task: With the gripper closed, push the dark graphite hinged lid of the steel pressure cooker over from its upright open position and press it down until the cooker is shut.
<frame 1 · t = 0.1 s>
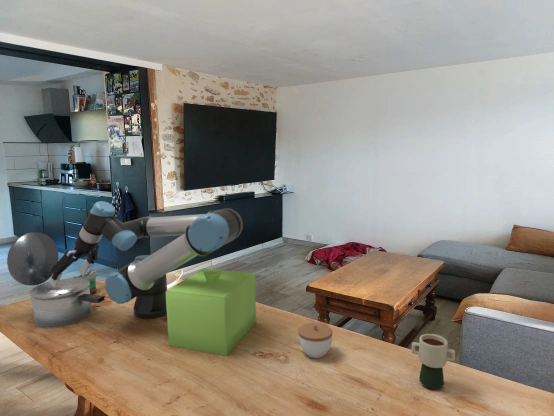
hand: (67, 279, 151), 15 cm above the table, tool tilted 35°, fingers open, 13 cm apart
canister: (215, 334, 137), on the table
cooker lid: (32, 258, 154), point 23 cm above the table, hinge at 95.0°
character mug: (431, 384, 106), on the table
cooker pot: (63, 315, 154), on the table
lidded jar: (315, 353, 123), on the table
food container: (90, 294, 177), on the table
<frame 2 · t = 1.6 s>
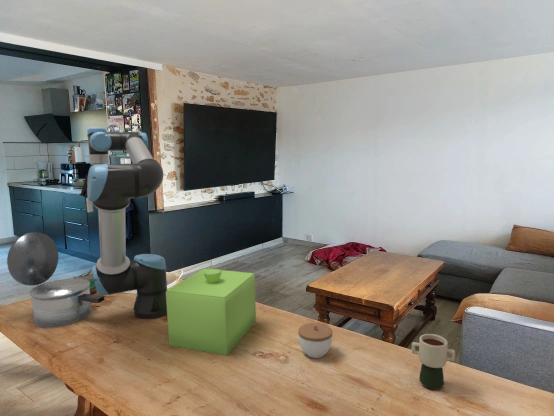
hand: (103, 212, 170), 38 cm above the table, tool pointing down, fingers open, 13 cm apart
nothing on the table moved.
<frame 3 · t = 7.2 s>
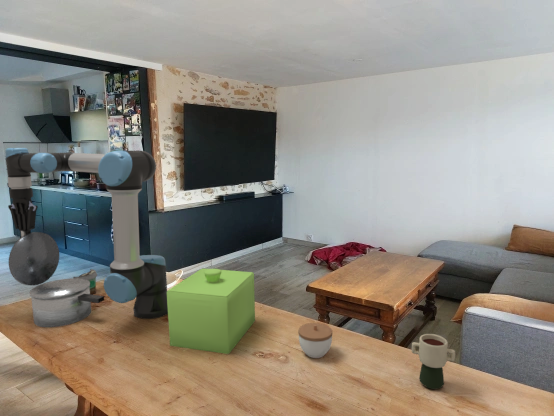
hand: (27, 246, 154), 27 cm above the table, tool pointing down, fingers closed
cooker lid: (33, 258, 154), point 23 cm above the table, hinge at 91.4°, touching gripper
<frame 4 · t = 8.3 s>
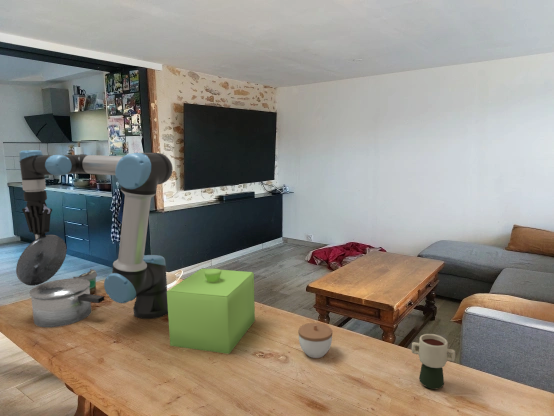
hand: (41, 250, 152), 26 cm above the table, tool pointing down, fingers closed
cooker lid: (41, 259, 153), point 23 cm above the table, hinge at 70.8°, touching gripper
everything else where it was.
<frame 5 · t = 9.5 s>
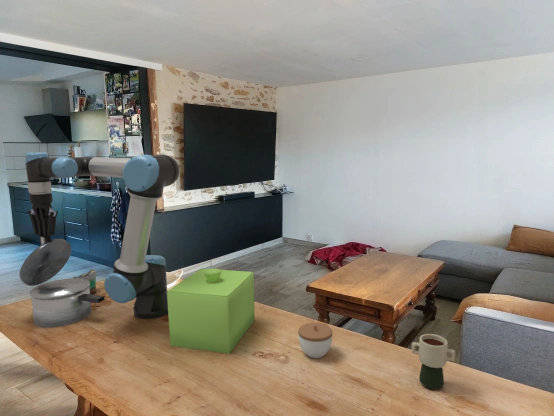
hand: (46, 252, 151), 26 cm above the table, tool pointing down, fingers closed
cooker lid: (44, 260, 152), point 22 cm above the table, hinge at 59.6°, touching gripper
everything else where it was.
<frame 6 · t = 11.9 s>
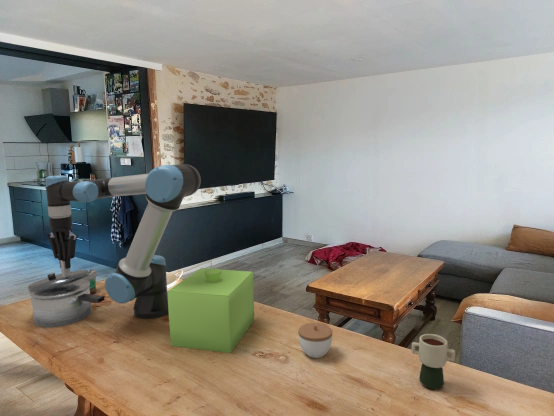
hand: (66, 276, 150), 17 cm above the table, tool pointing down, fingers closed
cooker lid: (58, 277, 151), point 16 cm above the table, hinge at 10.7°, touching gripper
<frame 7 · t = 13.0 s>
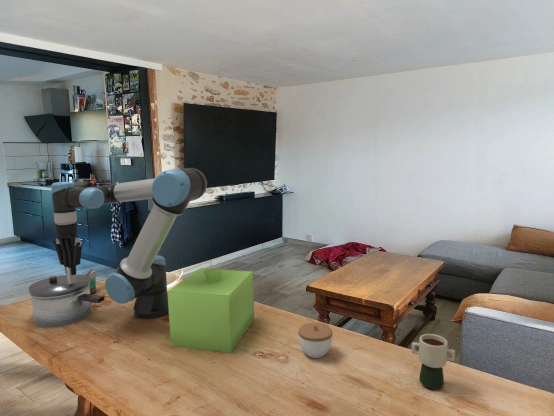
hand: (72, 282, 150), 14 cm above the table, tool pointing down, fingers closed
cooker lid: (60, 282, 152), point 14 cm above the table, hinge at -0.1°
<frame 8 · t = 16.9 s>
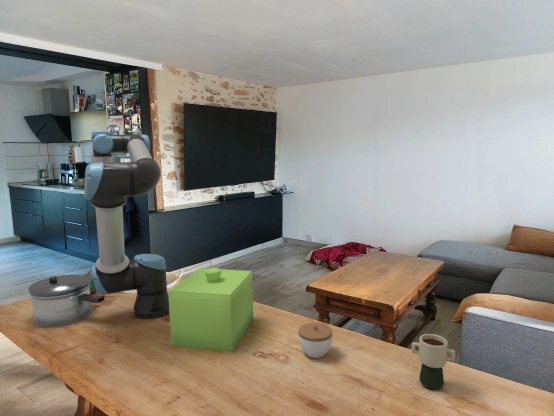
hand: (107, 219, 172), 34 cm above the table, tool pointing down, fingers closed
at the end: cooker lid at +0° (first picture: +95°); food container moved 0.2 cm from its start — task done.
